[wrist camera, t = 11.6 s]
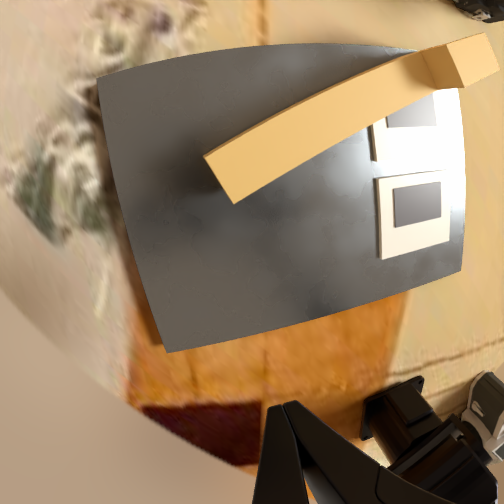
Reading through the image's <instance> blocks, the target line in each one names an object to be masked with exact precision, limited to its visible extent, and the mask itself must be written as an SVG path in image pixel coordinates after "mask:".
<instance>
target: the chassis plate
mask: <svg viewBox="0 0 504 504" xmlns="http://www.w3.org/2000/svg"><path fill="white" fill-rule="evenodd" d="M414 52H417V51H416V50H409V49H401V48H392V47H382V46H371V45H355V44H321V43H314V44H280V45H264V46H252V47H242V48H233V49H225V50H218V51H211V52H205V53H199V54H193V55H187V56H182V57H177V58H172V59H167V60H162V61H158V62H154V63H149V64H145V65H141V66H137V67H134V68H130V69H126V70H123V71H119V72H116V73H112V74H109V75H106V76H103V77H99V78H97V86H98V94H99V101H100V107H101V114H102V120H103V126H104V131H105V137H106V142H107V148H108V153H109V158H110V163H111V167H112V172H113V177H114V181H115V186H116V190H117V194H118V198H119V202H120V207H121V211H122V214H123V218H124V222H125V226H126V230H127V233H128V237H129V241H130V244H131V248H132V251H133V255H134V258H135V261H136V265H137V268H138V271H139V275H140V278H141V281H142V284H143V287H144V290H145V293H146V296H147V299H148V302H149V305H150V308H151V311H152V314H153V317H154V320H155V323H156V326H157V328H158V331H159V334H160V337H161V339H162V342H163V345H164V347H165V350H166V352H167V353H171V352H176V351H181V350H186V349H192V348H196V347H201V346H206V345H211V344H216V343H220V342H225V341H229V340H234V339H238V338H242V337H247V336H251V335H255V334H259V333H263V332H267V331H271V330H275V329H279V328H283V327H287V326H291V325H295V324H298V323H302V322H306V321H309V320H313V319H317V318H320V317H324V316H327V315H331V314H334V313H337V312H341V311H344V310H348V309H351V308H354V307H357V306H361V305H364V304H367V303H370V302H373V301H376V300H380V299H383V298H386V297H389V296H392V295H395V294H398V293H401V292H404V291H407V290H410V289H412V288H415V287H418V286H421V285H424V284H427V283H429V282H432V281H435V280H438V279H440V278H443V277H446V276H448V275H451V274H454V273H456V272H459V271H461V264H462V254H463V241H464V224H465V162H464V144H463V132H462V122H461V113H460V105H459V98H458V91H457V88H454V89H444V90H442V95H443V102H444V110H445V118H446V127H447V137H448V150H449V155H440V156H428V157H417V158H407V159H397V160H388V161H379V162H375V161H374V152H373V143H372V135H371V127H370V126H368V127H366V128H364V129H362V130H360V131H359V132H357V133H355V134H353V135H351V136H350V137H348V138H346V139H344V140H342V141H340V142H339V143H337V144H335V145H333V146H332V147H330V148H328V149H326V150H324V151H323V152H321V153H319V154H317V155H316V156H314V157H312V158H310V159H309V160H307V161H305V162H304V163H302V164H300V165H298V166H297V167H295V168H293V169H292V170H290V171H288V172H286V173H285V174H283V175H281V176H280V177H278V178H276V179H275V180H273V181H271V182H270V183H268V184H266V185H265V186H263V187H261V188H260V189H258V190H256V191H255V192H253V193H251V194H250V195H248V196H246V197H245V198H243V199H242V200H240V201H238V202H237V203H235V204H233V203H232V201H231V200H230V198H229V197H228V196H227V194H226V193H225V191H224V189H223V188H222V186H221V185H220V183H219V181H218V180H217V178H216V177H215V175H214V173H213V172H212V170H211V169H210V167H209V165H208V164H207V162H206V161H205V159H204V157H203V155H205V154H207V153H208V152H210V151H211V150H213V149H215V148H216V147H218V146H220V145H221V144H223V143H225V142H227V141H228V140H230V139H232V138H233V137H235V136H237V135H239V134H240V133H242V132H244V131H246V130H247V129H249V128H251V127H253V126H254V125H256V124H258V123H260V122H262V121H263V120H265V119H267V118H269V117H271V116H273V115H275V114H276V113H278V112H280V111H282V110H284V109H286V108H288V107H290V106H292V105H294V104H296V103H298V102H300V101H302V100H304V99H306V98H308V97H310V96H312V95H314V94H316V93H318V92H320V91H322V90H324V89H326V88H328V87H331V86H333V85H335V84H337V83H339V82H341V81H344V80H346V79H348V78H350V77H352V76H355V75H357V74H359V73H362V72H364V71H366V70H369V69H371V68H373V67H376V66H378V65H381V64H383V63H386V62H388V61H391V60H393V59H396V58H398V57H401V56H404V55H407V54H410V53H414ZM444 169H448V170H450V233H449V241H446V242H443V243H439V244H436V245H433V246H429V247H426V248H422V249H419V250H415V251H412V252H408V253H405V254H401V255H398V256H394V257H390V258H387V259H383V260H382V259H380V253H379V219H378V200H377V185H376V178H382V177H389V176H396V175H404V174H411V173H419V172H427V171H435V170H444Z"/></svg>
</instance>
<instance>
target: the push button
mask: <svg viewBox="0 0 504 504" xmlns="http://www.w3.org/2000/svg"><path fill="white" fill-rule="evenodd" d="M453 1H455V4H456V7H458V8H461V9H463V10H466V11H468V12H471V13H473V14H475V15H476V16H472V18H473V19H475V20H483V21H484V22H486V23H493V22H498V21H503V20H504V0H453ZM477 17H481V18H477Z"/></svg>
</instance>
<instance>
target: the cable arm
mask: <svg viewBox="0 0 504 504" xmlns="http://www.w3.org/2000/svg"><path fill="white" fill-rule="evenodd" d="M499 70H500V68H499V65H498V63H497V60H496V58H495V55H494V53H493V50H492V48H491V45H490V43H489V41H488V39H487V36H486V34H485V33H480V34H476V35H473V36H469V37H466V38H463V39H460V40H457V41H453V42H450V43H447V44H443V45H439V46H435V47H431V48H428V49H424V50H421V51H417V52H414V53H410V54H407V55H404V56H401V57H398V58H396V59H393V60H391V61H388V62H386V63H383V64H381V65H378V66H376V67H373V68H371V69H369V70H366V71H364V72H362V73H359V74H357V75H355V76H352V77H350V78H348V79H346V80H344V81H341V82H339V83H337V84H335V85H333V86H331V87H328V88H326V89H324V90H322V91H320V92H318V93H316V94H314V95H312V96H310V97H308V98H306V99H304V100H302V101H300V102H298V103H296V104H294V105H292V106H290V107H288V108H286V109H284V110H282V111H280V112H278V113H276V114H275V115H273V116H271V117H269V118H267V119H265V120H263V121H262V122H260V123H258V124H256V125H254V126H253V127H251V128H249V129H247V130H246V131H244V132H242V133H240V134H239V135H237V136H235V137H233V138H232V139H230V140H228V141H227V142H225V143H223V144H221V145H220V146H218V147H216V148H215V149H213V150H211V151H210V152H208V153H207V154H205V155H203V157H204V159H205V161H206V162H207V164H208V165H209V167H210V169H211V170H212V172H213V173H214V175H215V177H216V178H217V180H218V181H219V183H220V185H221V186H222V188H223V189H224V191H225V193H226V194H227V196H228V197H229V198H230V200H231V201H232V203H233V204H235V203H237V202H238V201H240V200H242V199H243V198H245V197H246V196H248V195H250V194H251V193H253V192H255V191H256V190H258V189H260V188H261V187H263V186H265V185H266V184H268V183H270V182H271V181H273V180H275V179H276V178H278V177H280V176H281V175H283V174H285V173H286V172H288V171H290V170H292V169H293V168H295V167H297V166H298V165H300V164H302V163H304V162H305V161H307V160H309V159H310V158H312V157H314V156H316V155H317V154H319V153H321V152H323V151H324V150H326V149H328V148H330V147H332V146H333V145H335V144H337V143H339V142H340V141H342V140H344V139H346V138H348V137H350V136H351V135H353V134H355V133H357V132H359V131H360V130H362V129H364V128H366V127H368V126H370V125H372V124H373V123H375V122H377V121H379V120H381V119H383V118H385V117H387V116H388V115H390V114H392V113H394V112H396V111H398V110H400V109H402V108H404V107H406V106H408V105H410V104H411V103H413V102H415V101H417V100H419V99H421V98H423V97H425V96H427V95H429V94H431V93H433V92H435V91H437V90H444V89H454V88H465V87H467V86H469V85H471V84H473V83H475V82H477V81H479V80H481V79H483V78H485V77H487V76H489V75H491V74H493V73H495V72H497V71H499Z"/></svg>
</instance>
